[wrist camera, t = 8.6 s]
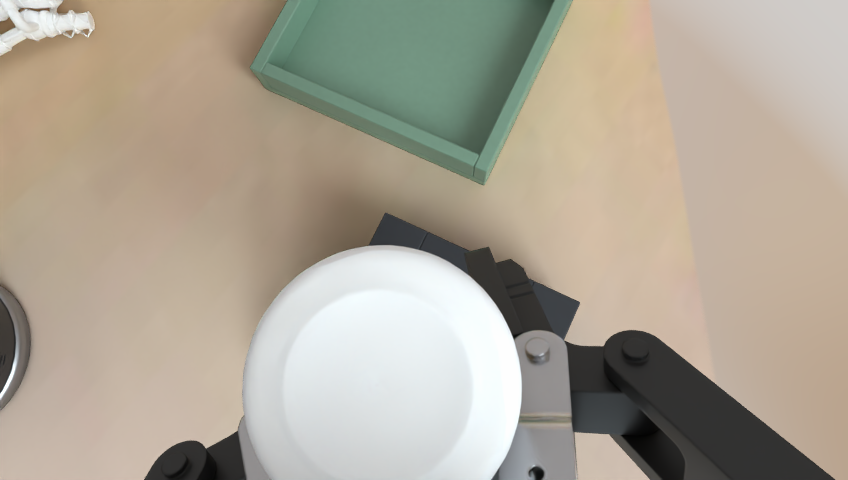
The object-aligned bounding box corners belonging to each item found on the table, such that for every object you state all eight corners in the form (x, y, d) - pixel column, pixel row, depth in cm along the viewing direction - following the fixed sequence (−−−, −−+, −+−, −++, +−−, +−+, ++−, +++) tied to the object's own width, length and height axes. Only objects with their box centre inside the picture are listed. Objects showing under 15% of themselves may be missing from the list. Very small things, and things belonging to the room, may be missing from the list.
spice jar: (385, 285, 22) (279, 212, 9) (493, 311, 22) (553, 275, 8) (357, 397, 21) (194, 498, 8) (468, 426, 21) (490, 585, 8)
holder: (312, 395, 31) (287, 406, 27) (395, 228, 33) (385, 211, 28) (484, 486, 30) (488, 512, 25) (563, 306, 31) (580, 302, 27)
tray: (265, 88, 35) (248, 67, 32) (359, -82, 36) (351, -116, 34) (484, 185, 33) (486, 172, 30) (572, 0, 34) (582, -29, 32)
